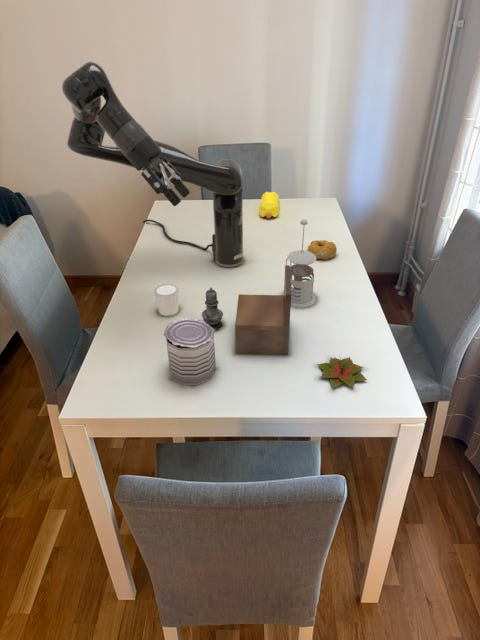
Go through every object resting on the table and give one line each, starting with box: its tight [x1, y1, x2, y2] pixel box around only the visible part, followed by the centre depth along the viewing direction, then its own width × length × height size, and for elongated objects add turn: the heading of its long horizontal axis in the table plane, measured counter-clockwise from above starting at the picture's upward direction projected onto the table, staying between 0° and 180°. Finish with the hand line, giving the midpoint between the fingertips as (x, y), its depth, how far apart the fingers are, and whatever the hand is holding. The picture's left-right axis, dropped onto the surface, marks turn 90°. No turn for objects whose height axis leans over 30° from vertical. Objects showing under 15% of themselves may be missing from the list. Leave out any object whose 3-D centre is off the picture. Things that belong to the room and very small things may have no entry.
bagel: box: [306, 239, 338, 261], centre depth 166 cm, size 10×11×5 cm
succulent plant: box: [316, 354, 368, 389], centre depth 115 cm, size 12×12×5 cm
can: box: [162, 317, 217, 386], centre depth 115 cm, size 11×11×12 cm
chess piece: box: [201, 287, 224, 331], centre depth 130 cm, size 6×6×12 cm
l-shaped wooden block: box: [234, 264, 292, 356], centre depth 123 cm, size 13×14×18 cm
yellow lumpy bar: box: [258, 191, 280, 219], centre depth 196 cm, size 18×7×8 cm
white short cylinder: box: [153, 283, 180, 317], centre depth 138 cm, size 7×7×7 cm
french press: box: [285, 218, 317, 309], centre depth 138 cm, size 10×12×25 cm
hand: (182, 199), depth 118 cm, fingers open, 8 cm apart
